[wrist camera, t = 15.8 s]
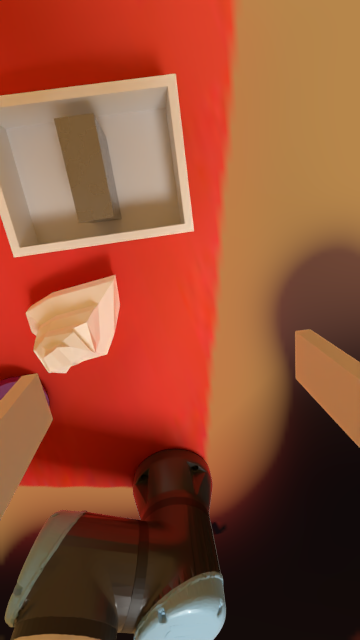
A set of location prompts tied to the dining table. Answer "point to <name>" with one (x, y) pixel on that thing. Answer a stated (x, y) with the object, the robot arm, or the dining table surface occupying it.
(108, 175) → the brushed metal block
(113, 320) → the cream faceted chunk
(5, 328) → the dining table surface
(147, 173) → the cream rectangular tray
